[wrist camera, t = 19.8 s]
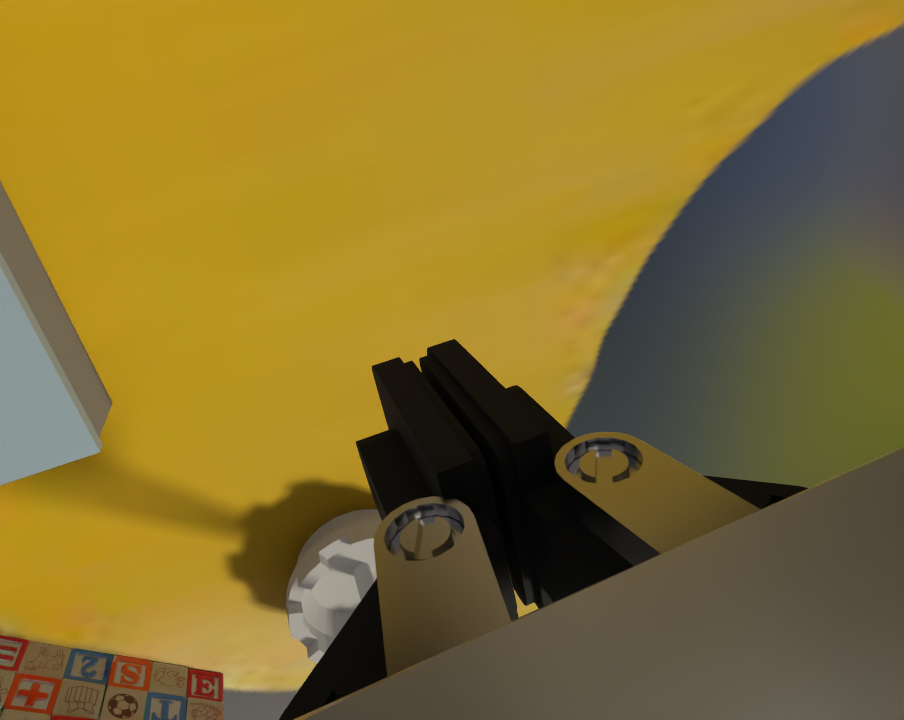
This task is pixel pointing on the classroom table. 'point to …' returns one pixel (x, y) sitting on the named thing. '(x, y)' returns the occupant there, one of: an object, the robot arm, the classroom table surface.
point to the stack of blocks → (100, 686)
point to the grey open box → (51, 314)
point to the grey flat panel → (35, 395)
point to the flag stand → (331, 579)
